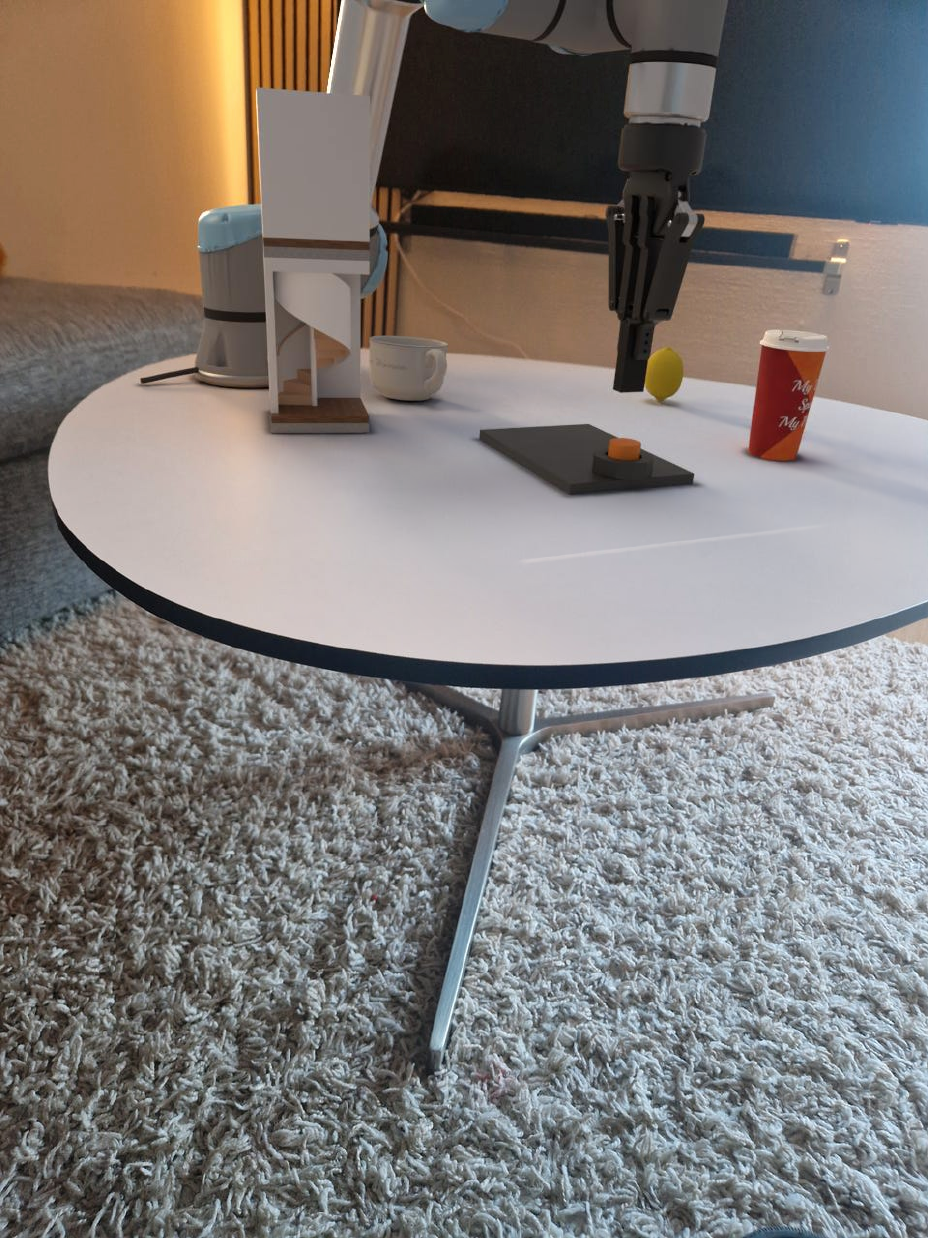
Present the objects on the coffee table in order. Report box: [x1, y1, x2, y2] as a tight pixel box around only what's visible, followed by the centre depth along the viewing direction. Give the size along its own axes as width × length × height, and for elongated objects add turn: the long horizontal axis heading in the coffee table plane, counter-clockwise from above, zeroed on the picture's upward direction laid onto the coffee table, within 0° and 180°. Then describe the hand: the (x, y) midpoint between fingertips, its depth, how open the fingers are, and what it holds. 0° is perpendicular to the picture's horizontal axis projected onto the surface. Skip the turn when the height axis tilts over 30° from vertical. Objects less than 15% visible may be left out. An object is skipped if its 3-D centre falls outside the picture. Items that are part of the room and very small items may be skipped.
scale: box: [478, 423, 695, 496], centre depth 100 cm, size 15×22×3 cm, turn 23°
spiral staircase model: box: [255, 87, 370, 434], centre depth 103 cm, size 11×11×35 cm
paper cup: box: [748, 329, 831, 462], centre depth 105 cm, size 8×8×14 cm
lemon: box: [644, 345, 684, 403], centre depth 130 cm, size 6×6×8 cm
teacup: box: [368, 335, 449, 402], centre depth 123 cm, size 14×11×8 cm
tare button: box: [608, 437, 642, 460], centre depth 92 cm, size 3×3×2 cm
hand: (628, 390), depth 90 cm, fingers closed
